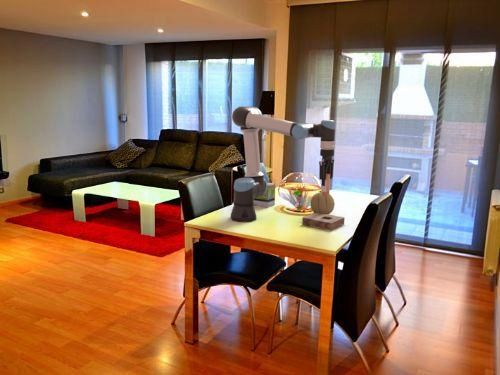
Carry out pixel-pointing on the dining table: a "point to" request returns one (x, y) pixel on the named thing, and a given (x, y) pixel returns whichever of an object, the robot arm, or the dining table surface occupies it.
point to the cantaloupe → (322, 203)
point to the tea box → (266, 197)
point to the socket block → (323, 221)
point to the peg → (327, 186)
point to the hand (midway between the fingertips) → (325, 190)
